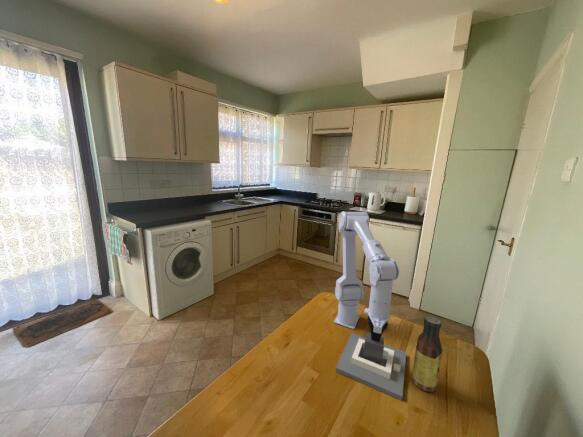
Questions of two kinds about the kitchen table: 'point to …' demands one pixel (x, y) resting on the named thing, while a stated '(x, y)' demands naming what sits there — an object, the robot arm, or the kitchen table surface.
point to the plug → (373, 349)
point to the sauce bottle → (428, 355)
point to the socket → (374, 367)
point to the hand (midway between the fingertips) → (375, 340)
